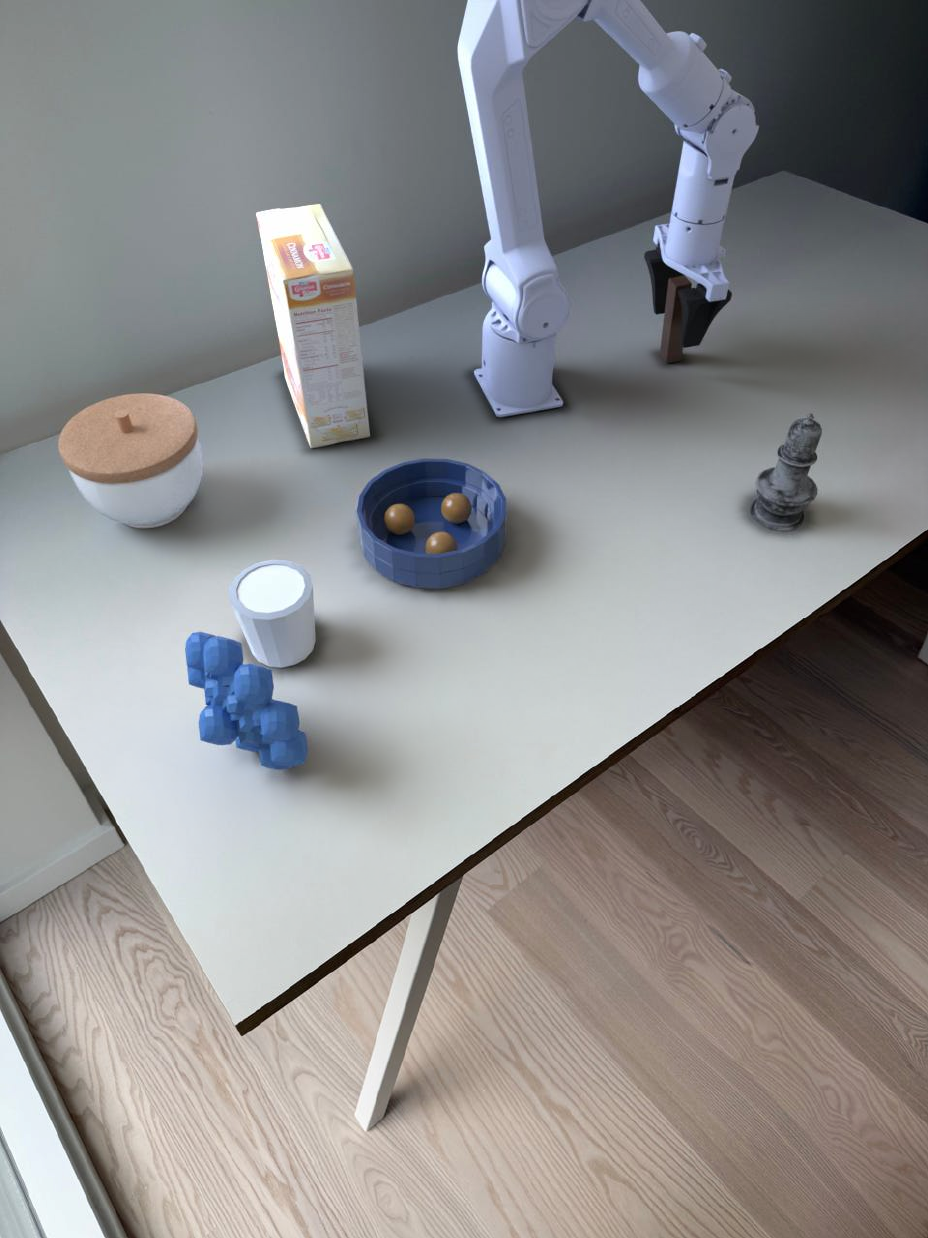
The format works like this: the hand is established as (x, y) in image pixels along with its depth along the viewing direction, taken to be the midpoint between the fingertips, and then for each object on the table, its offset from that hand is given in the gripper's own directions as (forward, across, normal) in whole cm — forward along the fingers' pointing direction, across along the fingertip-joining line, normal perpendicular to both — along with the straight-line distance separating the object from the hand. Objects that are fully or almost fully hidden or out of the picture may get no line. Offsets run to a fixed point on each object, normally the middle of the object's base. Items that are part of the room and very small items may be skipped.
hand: (676, 328), depth 105 cm
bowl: (+4, -23, +36) cm, 43 cm away
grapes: (+4, -43, +56) cm, 71 cm away
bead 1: (+2, -21, +39) cm, 44 cm away
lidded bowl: (+4, -10, +62) cm, 63 cm away
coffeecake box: (+4, +2, +42) cm, 42 cm away
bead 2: (+2, -21, +33) cm, 40 cm away
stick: (+4, 0, 0) cm, 4 cm away
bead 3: (+2, -26, +36) cm, 45 cm away
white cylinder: (+4, -32, +52) cm, 61 cm away
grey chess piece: (+4, -29, +2) cm, 29 cm away
